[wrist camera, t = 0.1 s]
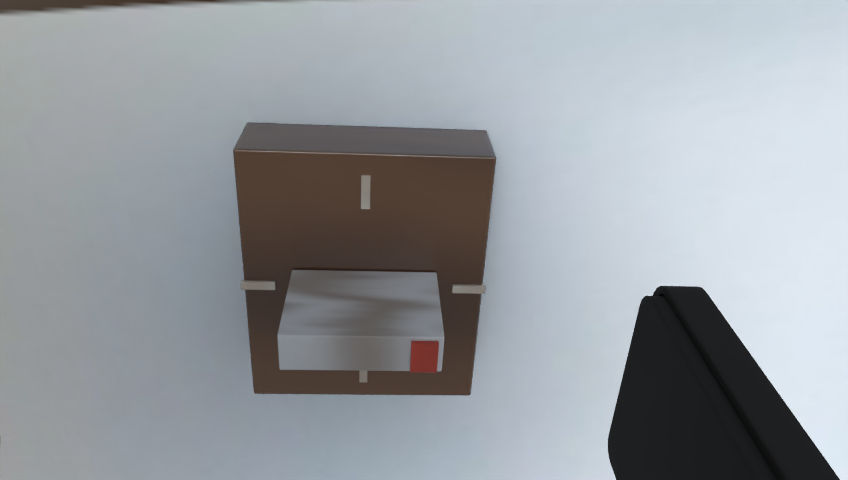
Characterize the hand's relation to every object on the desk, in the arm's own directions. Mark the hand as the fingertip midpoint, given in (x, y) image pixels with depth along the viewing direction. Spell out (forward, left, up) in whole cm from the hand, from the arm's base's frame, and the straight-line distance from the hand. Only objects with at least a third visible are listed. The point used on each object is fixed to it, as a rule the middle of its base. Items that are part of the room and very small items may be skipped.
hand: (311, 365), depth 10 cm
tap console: (+10, 0, -20) cm, 23 cm away
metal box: (+10, 0, -17) cm, 20 cm away
